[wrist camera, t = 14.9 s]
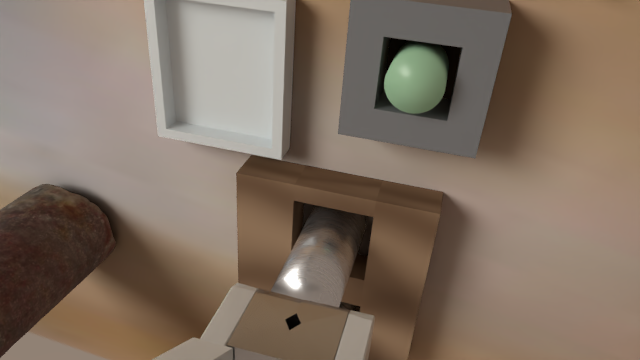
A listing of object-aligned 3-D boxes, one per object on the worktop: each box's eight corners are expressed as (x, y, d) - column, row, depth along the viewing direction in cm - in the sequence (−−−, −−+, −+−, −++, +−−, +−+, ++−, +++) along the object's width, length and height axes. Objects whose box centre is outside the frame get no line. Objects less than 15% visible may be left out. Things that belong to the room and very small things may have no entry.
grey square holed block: (363, -17, 26) (351, -7, 23) (508, 0, 24) (512, 13, 22) (350, 112, 29) (338, 133, 27) (475, 133, 28) (475, 158, 25)
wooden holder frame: (251, 155, 32) (236, 173, 30) (443, 192, 30) (440, 214, 28) (251, 314, 40) (239, 337, 38) (406, 354, 37) (402, 381, 35)
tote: (157, -23, 28) (141, -18, 27) (296, -5, 27) (286, 1, 26) (171, 125, 33) (158, 136, 32) (289, 148, 31) (281, 159, 30)
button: (397, 34, 26) (388, 50, 23) (454, 42, 25) (451, 59, 23) (389, 87, 27) (380, 108, 25) (443, 96, 27) (439, 118, 24)
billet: (313, 190, 33) (270, 269, 26) (369, 201, 32) (340, 286, 25) (310, 235, 34) (269, 320, 28) (363, 247, 34) (334, 337, 27)
